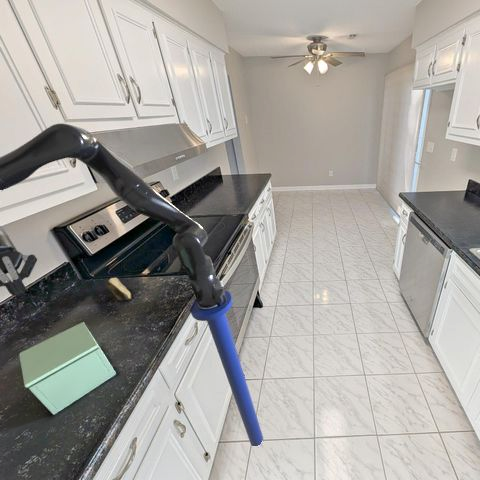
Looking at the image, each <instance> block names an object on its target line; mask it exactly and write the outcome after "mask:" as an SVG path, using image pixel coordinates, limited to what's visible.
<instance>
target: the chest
mask: <svg viewBox="0 0 480 480" xmlns="http://www.w3.org/2000/svg"><path fill="white" fill-rule="evenodd" d="M87 329H88V330H89V328H88V327H87ZM89 332H90V334H91V335H92V337H93V339H94V340H95V342H96V344H97V345H98V348H96V349H94V350H92V351H91V352H89V353H87V354H85V355H84V356H82V357H80V358H78V359H76V360H75V361H73V362H71V363H69V364H68V365H66V366H64V367H62V368H61V369H59V370H57V371H55V372H53V373H52V374H50V375H48V376H46V377H45V378H43V379H41V380H39V381H38V382H36V383H34V384H32V385H30V386H29V387H28V390H29V391H30V393H32V394H33V395H34V396H35V397H36V398H37V399H38V400H39V401H40V402H41V404H42V405H44V407H46V409H47V410H48V411H49V412H50V413H51V414H52V415H53V416H54V415H56V414H58V413H59V412H61V411H62V410H64V409H65V408H67V407H68V406H70V405H71V404H73V403H75V402H76V401H77V400H79V399H80V398H82V397H84V396H85V395H86V394H88V393H90V392H92V391H93V390H94V389H96V388H97V387H99V386H101V385H102V384H104V383H105V382H106V381H108V380H110V379H111V378H114V377H115V376H116V375H117V372H116V370H115V369H114V368H113V365H112V364H111V363H110V361H109V359H108V358H107V356H106V355H105V353H104V351H103V350H102V348H101V347H100V345H99V344H98V342H97V340H96V339H95V337H94V336H93V334H92V332H91V331H90V330H89Z"/></svg>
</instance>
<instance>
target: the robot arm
mask: <svg viewBox="0 0 480 480" xmlns="http://www.w3.org/2000/svg"><path fill="white" fill-rule="evenodd" d="M64 159H76V160H78V161H79V162H81V163H83V164H84V165H86V166H87V167H89V168H90V169H91V170H93V171H94V172H95V173H97V174H98V176H100V177H101V178H102V179H103V180H104V182H105V183H106V184H107V186H108V188H109V189H110V190H111V191H112V192H113V194H114V195H115V196H116V197H117V198H118V199H119V200H120V201H122V202H123V203H124V204H125V205H126V206H128V207H129V208H131V209H132V210H133V211H135V212H136V213H138V214H140V215H142V216H145V217H148V218H151V219H154V220H156V221H159V222H161V223H163V224H165V225H167V226H168V227H169V228H171V229H173V230H174V231H175V232H176V234H175V235H174V237H173V238H172V245H173V249H174V251H175V254H176V256H177V258H178V261H179V262H180V264H181V266H182V267H183V268H184V269H185V271H186V274H187V278H188V281H189V284H190V285H191V288H192V291H193V294H194V296H195V299H197V302H198V306H199V308H200V309H202V310H211V309H214V308H216V307H218V306H221V304H223V305H224V304H225V303H226V301H227V298H226V297H225V291H226V290H225V288H223V287H222V284H221V280H220V278H219V277H217V275H216V271H215V268H214V264H213V261H212V258H211V256H209V255H207V254H205V252H204V249H203V247H204V246H205V245H206V243H207V241H208V239H209V236H208V232H207V231H206V229H205V228H204V227H203V226H202V225H201V224H200V223H198V222H197V221H195V220H193V219H192V218H191V217H189V216H188V215H186V214H185V213H184V212H182V211H181V210H179V209H178V208H177V207H176V206H175V205H173V203H171V202H170V201H169V200H168V199H166V198H165V197H164V196H163V195H162V194H160V193H159V192H158V191H157V190H156V189H155V188H153V186H151V185H150V184H149V183H148V182H146V180H144V179H143V178H141V176H139V175H138V174H137V173H135V172H134V171H133V170H132V169H131V168H129V167H128V166H126V165H125V164H123V163H122V162H121V161H120V160H119V159H117V158H116V157H115V156H114V155H113V154H112V153H111V152H110V151H109V150H108V149H107V148H106V147H105V146H104V145H103V144H102V143H101V142H100V140H98V138H96V137H95V136H94V135H93V134H92V133H91V132H89V131H88V130H86V129H85V128H82V127H79V126H76V125H73V124H69V123H55V124H52V125H50V126H49V127H47V128H45V129H44V130H42V131H41V132H40V133H38V134H37V135H36V136H34V137H33V138H32V139H30V140H29V141H27V142H25V143H23V144H22V145H20V146H19V147H17V148H15V149H14V150H12V151H10V152H8V153H6V154H4V155H2V156H0V190H2V191H5V190H7V189H9V188H11V187H14V186H15V185H18V184H20V183H22V182H23V181H25V180H26V179H29V178H30V177H31V176H32V175H33V174H35V172H36V171H38V170H39V169H41V168H42V167H44V166H46V165H48V164H50V163H53V162H57V161H61V160H64ZM4 189H5V190H4ZM37 262H38V258H37V257H36V255H35V254H29V255H27V254H23V253H22V252H20V251H18V250H17V248H16V246H15V245H14V243H13V242H12V239H11V238H10V236H9V235H8V233H7V232H6V230H5V229H4V228H3V227H2V226H1V225H0V288H1V287H5V288H6V290H7V292H8V293H9V294H10V295H11V296H13V297H14V296H16V297H21V296H24V295H26V292H27V291H28V289H27V287H26V285H25V283H24V282H23V281H24V280H25V279H28V278H29V277H30V276H31V273H32V272H33V270H34V268H35V266H36V263H37ZM22 263H23V266H22V268H21V270H20V272H19V268H20V267H21V265H22ZM7 274H9V276H10V277H9V276H8V275H7ZM10 278H11V279H10ZM224 290H225V291H224ZM223 299H225V300H224V302H223V303H222V301H223Z"/></svg>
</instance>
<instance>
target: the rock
mask: <svg viewBox="0 0 480 480" xmlns="http://www.w3.org/2000/svg"><path fill="white" fill-rule="evenodd" d="M104 285H105V287H107V289H109V291H110V292H111V293H112V294H113V295H114V296H115V297H116V299H117V300H118V301H127V300H131V299H132V293H131V292H130V291H129V290H128V289H127V287H126V286H125V285H124V284H123V283H122V282H121V281H120V279H118V277H117V276H116V277H110V278H109V279H108V280H107V281H106V282H105V283H104Z"/></svg>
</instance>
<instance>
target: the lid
mask: <svg viewBox="0 0 480 480" xmlns="http://www.w3.org/2000/svg"><path fill="white" fill-rule="evenodd" d="M87 328H88V327H87V325H86V323H85V322H84V321H82V322H80V323H78V324H76V325H74V326H72V327H70V328H68V329H66V330H64V331H61V332H59V333H57V334H55V335H54V336H51V337H49V338H47V339H46V340H43V341H41V342H39V343H37V344H35V345H33V346H31V347H29V348H27V349H25V350H23V351H21V352H19V354H18V355H19V361H20V367H21V372H22V373H21V374H22V377H23V378H22V379H23V385H24V387H25V388H29V386H30V385H32V384H34V383H36V382H38V381H39V380H41V379H43V378H45V377H46V376H48V375H50V374H52V373H53V372H55V371H57V370H59V369H61V368H62V367H64V366H66V365H68V364H69V363H71V362H73V361H75V360H76V359H78V358H80V357H82V356H84V355H85V354H87V353H89V352H91V351H92V350H94V349H96V348H98V345H99V344H98V343H97V344H98V345H97V344H96V342H97V341H96V342H95V340H96V339H95V338H94V339H95V340H94V339H93V337H94V336H93V334H92V333H91V331H90V330H89V328H88V329H87ZM89 331H90V332H89ZM90 333H91V334H92V335H91V334H90ZM92 336H93V337H92Z"/></svg>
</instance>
